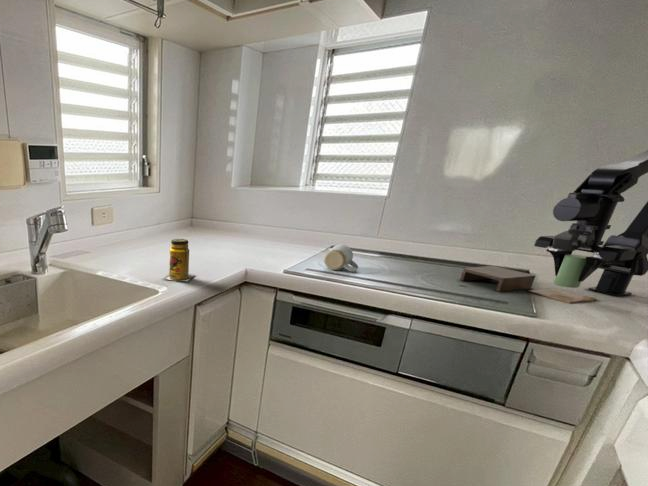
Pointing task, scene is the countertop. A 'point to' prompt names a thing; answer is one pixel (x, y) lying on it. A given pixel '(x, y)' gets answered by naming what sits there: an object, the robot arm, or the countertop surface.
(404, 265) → the countertop surface
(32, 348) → the countertop surface
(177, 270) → the condiment
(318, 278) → the countertop surface
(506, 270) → the shelf
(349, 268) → the ceramic mug
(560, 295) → the cork pad
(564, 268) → the spice tin
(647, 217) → the robot arm
